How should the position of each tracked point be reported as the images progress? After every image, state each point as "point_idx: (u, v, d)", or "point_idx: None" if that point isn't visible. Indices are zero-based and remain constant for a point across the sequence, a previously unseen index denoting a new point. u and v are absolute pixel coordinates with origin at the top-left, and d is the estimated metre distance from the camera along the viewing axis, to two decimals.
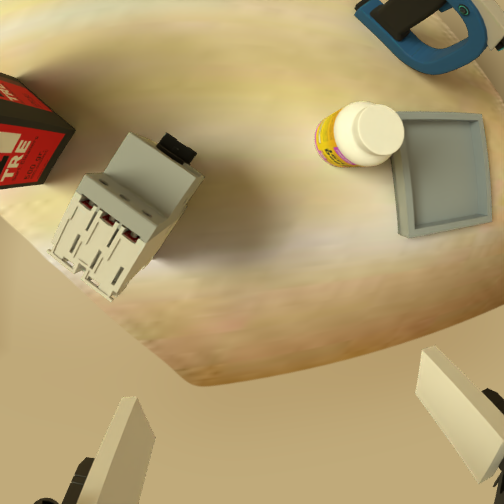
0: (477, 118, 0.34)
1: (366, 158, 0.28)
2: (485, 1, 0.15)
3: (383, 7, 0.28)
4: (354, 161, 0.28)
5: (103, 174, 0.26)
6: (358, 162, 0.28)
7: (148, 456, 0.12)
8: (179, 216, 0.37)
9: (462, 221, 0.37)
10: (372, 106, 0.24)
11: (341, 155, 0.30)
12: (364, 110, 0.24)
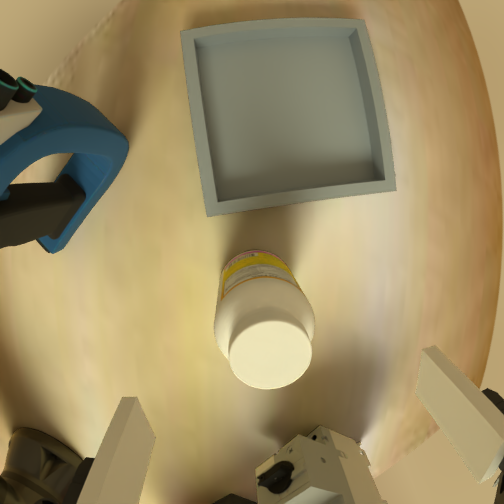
0: (190, 39, 0.21)
1: None
2: None
3: (39, 237, 0.22)
4: None
5: None
6: None
7: (148, 456, 0.12)
8: (329, 436, 0.33)
9: (371, 83, 0.23)
10: (235, 371, 0.17)
11: None
12: (243, 381, 0.17)
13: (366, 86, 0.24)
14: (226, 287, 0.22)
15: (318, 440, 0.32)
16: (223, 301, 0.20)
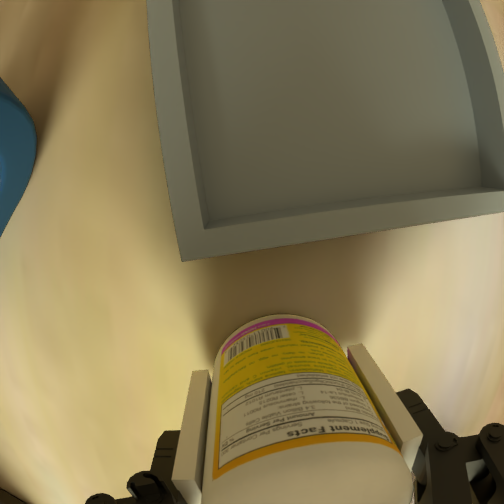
0: None
1: None
2: None
3: None
4: None
5: None
6: None
7: None
8: None
9: (478, 23, 0.09)
10: None
11: None
12: None
13: (468, 29, 0.10)
14: (225, 437, 0.08)
15: None
16: (218, 493, 0.06)
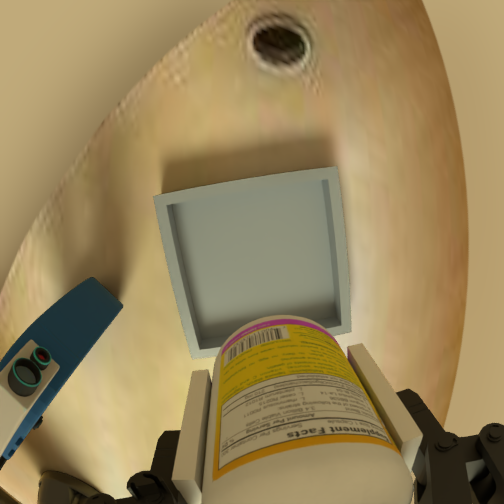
0: (163, 205, 0.27)
1: None
2: (7, 425, 0.13)
3: None
4: None
5: None
6: None
7: None
8: None
9: (336, 240, 0.28)
10: None
11: None
12: None
13: (332, 239, 0.29)
14: (225, 438, 0.08)
15: None
16: (218, 494, 0.06)
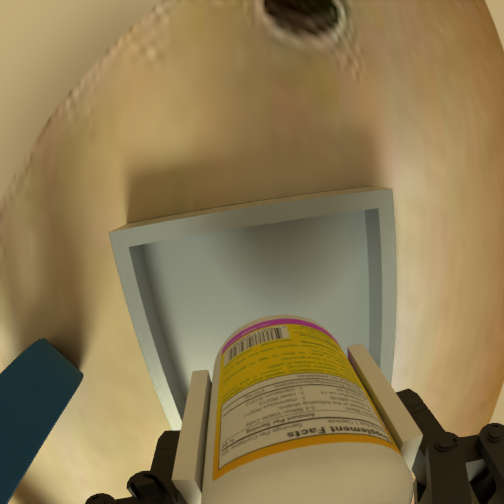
0: (124, 247, 0.17)
1: None
2: None
3: None
4: None
5: None
6: None
7: None
8: None
9: (383, 297, 0.18)
10: None
11: None
12: None
13: (376, 295, 0.19)
14: (225, 437, 0.08)
15: None
16: (218, 494, 0.06)
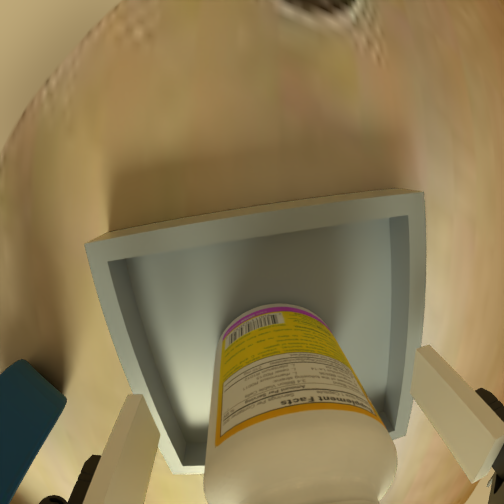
0: (102, 261, 0.14)
1: (378, 500, 0.08)
2: None
3: None
4: None
5: None
6: None
7: (154, 453, 0.12)
8: None
9: (410, 319, 0.15)
10: None
11: None
12: None
13: (401, 315, 0.16)
14: (226, 409, 0.10)
15: None
16: (220, 457, 0.08)
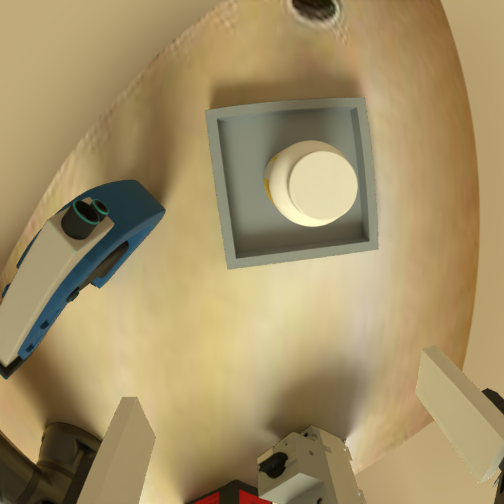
0: (213, 118, 0.29)
1: None
2: (42, 285, 0.15)
3: None
4: None
5: None
6: None
7: (148, 456, 0.12)
8: (318, 434, 0.41)
9: (364, 159, 0.30)
10: (294, 198, 0.20)
11: None
12: (300, 210, 0.20)
13: (360, 160, 0.31)
14: None
15: (309, 437, 0.40)
16: (279, 155, 0.23)
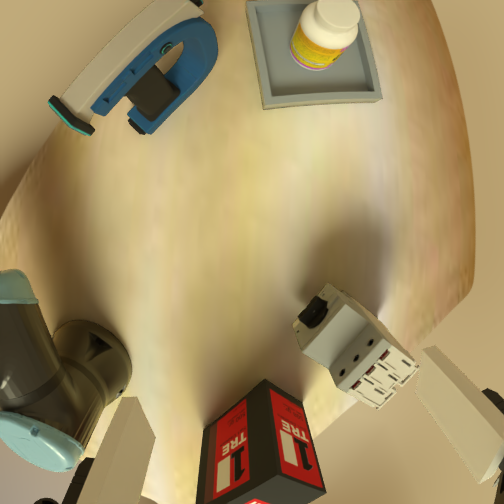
0: (252, 6, 0.33)
1: (354, 27, 0.27)
2: (152, 24, 0.19)
3: (147, 112, 0.34)
4: None
5: (330, 369, 0.36)
6: (357, 33, 0.28)
7: (148, 456, 0.12)
8: (351, 298, 0.44)
9: (362, 36, 0.34)
10: (320, 13, 0.24)
11: (348, 46, 0.29)
12: (325, 20, 0.24)
13: (359, 39, 0.35)
14: None
15: None
16: (306, 7, 0.27)
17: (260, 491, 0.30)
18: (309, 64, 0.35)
